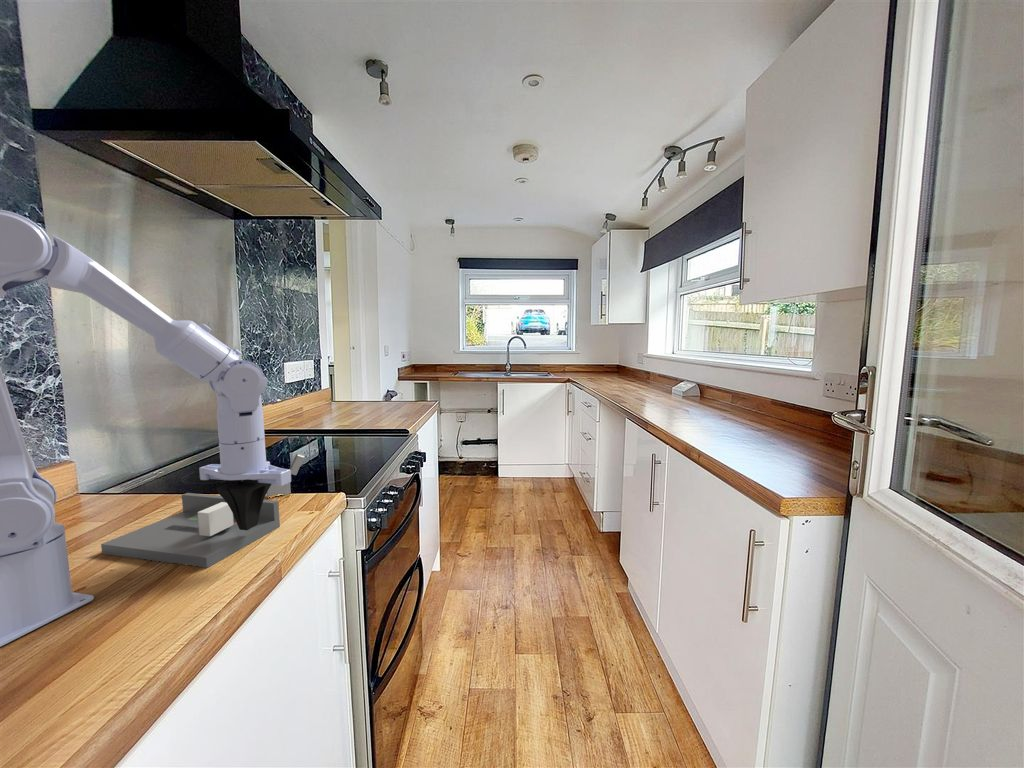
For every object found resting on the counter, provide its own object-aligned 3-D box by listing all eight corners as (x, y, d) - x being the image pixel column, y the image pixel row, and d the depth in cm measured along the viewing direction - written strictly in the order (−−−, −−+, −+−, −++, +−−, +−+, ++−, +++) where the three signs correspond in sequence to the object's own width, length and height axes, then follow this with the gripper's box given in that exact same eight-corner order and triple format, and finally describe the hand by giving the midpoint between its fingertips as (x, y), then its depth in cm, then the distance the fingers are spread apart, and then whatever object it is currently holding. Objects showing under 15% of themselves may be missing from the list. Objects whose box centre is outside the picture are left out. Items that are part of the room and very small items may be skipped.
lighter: (267, 498, 81) (264, 459, 80) (266, 496, 82) (263, 457, 81) (306, 490, 85) (304, 453, 84) (305, 488, 86) (302, 452, 85)
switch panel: (207, 568, 55) (204, 536, 55) (102, 553, 59) (98, 524, 59) (279, 526, 68) (278, 500, 68) (189, 517, 72) (187, 492, 72)
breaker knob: (210, 536, 60) (208, 513, 60) (199, 535, 61) (197, 512, 61) (233, 524, 64) (232, 503, 64) (223, 523, 65) (221, 502, 64)
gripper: (303, 435, 62) (308, 520, 64) (226, 432, 65) (232, 512, 67) (267, 447, 55) (273, 541, 57) (182, 442, 59) (190, 531, 60)
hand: (248, 527), depth 61 cm, fingers closed
